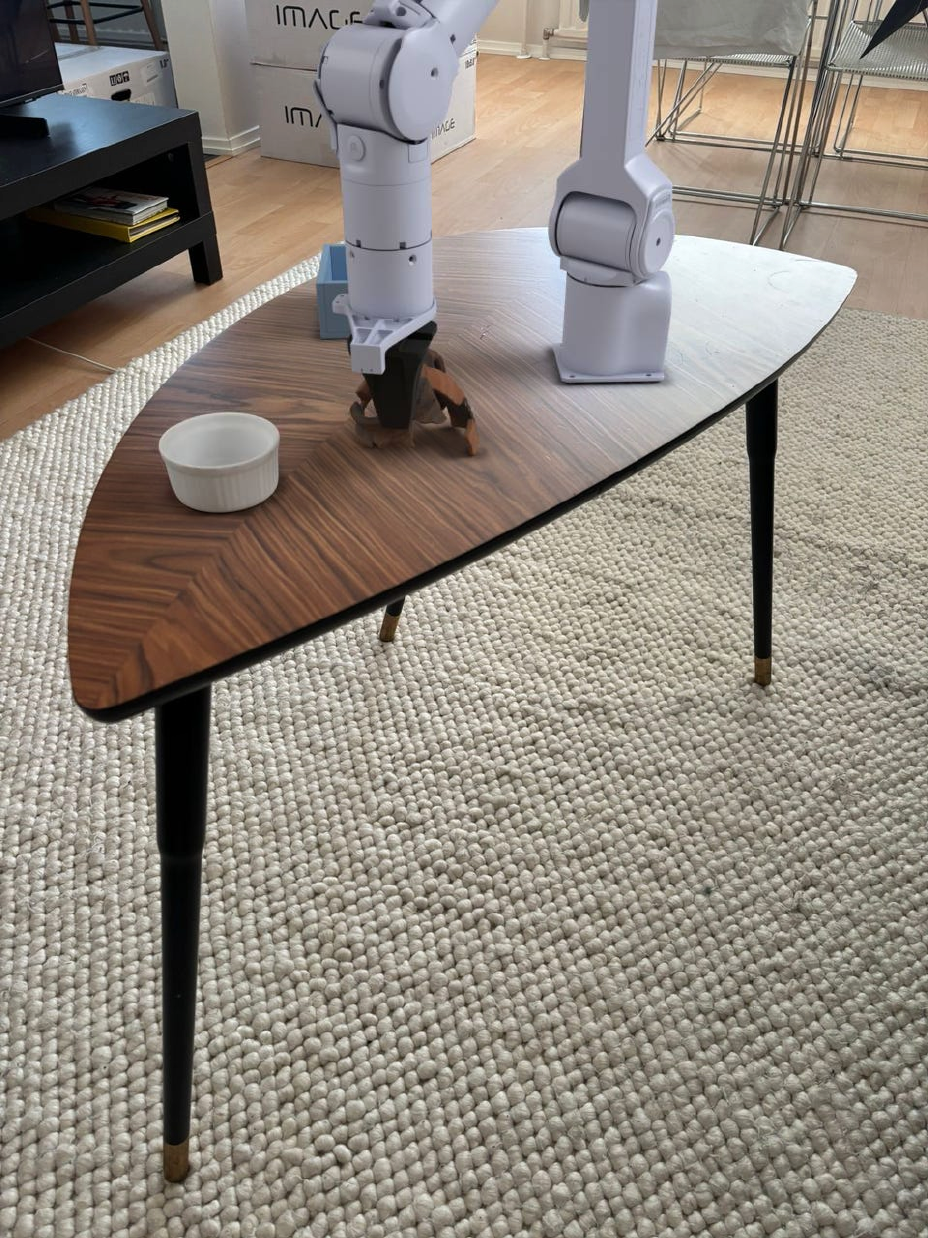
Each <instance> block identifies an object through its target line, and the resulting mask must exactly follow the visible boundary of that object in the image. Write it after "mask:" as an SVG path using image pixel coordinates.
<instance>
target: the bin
mask: <svg viewBox="0 0 928 1238" xmlns="http://www.w3.org/2000/svg"><path fill="white" fill-rule="evenodd" d="M315 289H316V290H315V291H316V300H317V301H316V302H317V311H318V323H319V335H320V336H319V337H320V339H322V340H323V339H324V340H325V339H328V340H329V339H332V340H333V339H348V337H349V336H350V334H351V329H350V324H349V320H348V316H347V315H345V314H337V313H334V312H333V306H332V302H333V301H334V299H335V298H336V297H337V296H338V295H339V294H349V292H348V277H347V263H346V247H345V243H324V244H323V245H322V250H321V255H320V259H319V266H318V271H317V276H316V281H315Z"/></svg>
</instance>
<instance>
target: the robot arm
mask: <svg viewBox="0 0 928 1238" xmlns="http://www.w3.org/2000/svg"><path fill="white" fill-rule="evenodd" d="M658 1H659V0H588V19H587V20H588V21H587V39H586V41H587V42H586V59H585V62H586V63H585V83H584V100H583V101H584V102H583V122H582V123H583V124H582V125H583V126H582V147H581V157H580V158H579V159H577V160H576V161H575V162H572V163H571V164H570V165H569V166H567V167H566V168H565V169H564V170H563V171H562V172H561V173H560V174H559V175H558V176H557V179H556V188H555V189H556V190H555V196H554V201H553V205H552V208H551V211H550V214H549V217H548V226H547V235H548V240H549V246H550V248H551V250H552V252H553V254H554V255H555V256H556V257H558V258H559V269H560V270H562V271H565V272H566V275H565V291H564V292H565V293H564V307H563V323H562V337H561V339H562V340H561V342H558V343H557V342H556V343H554V344H552V351H553V354H554V358H555V359H554V360H555V362H556V366H557V369H558V374H559V377H560V380H561V382H563V383H564V384H565V383H566V384H569V383H570V384H572V383H573V384H576V383H581V384H582V383H628V382H629V383H633V382H634V383H635V382H636V383H637V382H663V381H664V380H665V373H664V369H665V362H666V354H667V348H668V347H667V345H668V341H669V340H668V338H669V332H670V324H671V316H672V302H673V301H672V299H673V297H672V296H673V295H672V293H673V292H672V283H671V277H670V275H669V273H668V272H667V271H665V270H661V269H662V268H663V267H664V266H665V264H666V262H667V260H668V259H669V256H670V254H671V251H672V248H673V246H674V241H675V235H676V221H675V216H674V211H673V189H674V188H673V187H674V184H673V182H672V181H671V180H670V179H669V177H668V176H667V175H666V174H665V173H664V172H663V171H662V170H661V169H660V167H658V165H656V163H654V162H653V161H652V160H651V158H650V157H649V156H648V155H647V153H646V144H647V143H646V142H647V132H648V129H647V128H648V120H649V119H648V118H649V108H650V107H649V106H650V97H651V96H650V95H651V85H652V72H653V63H654V61H653V60H654V51H655V50H654V49H655V38H656V37H655V35H656V27H657V16H658V15H657V13H658ZM499 2H500V0H374V2H373V3H372V5H371V9H369V11H368V12H367V14H366V15H365V17H364V18H363V20H362V23H357V22H351V23H350V24H345V25H343V26H342V27H340V28H339V29H338V30H337V31H336V32H335V33H334V34H333V35H332V36H331V37H330V38H329V39H328V40H327V41H326V43H325V44H324V46H323V47H322V49H321V52H320V54H319V58H318V63H317V68H316V69H317V70H316V78H315V79H313V80H312V81H311V88H312V89H311V90H312V94H313V99H314V102H315V105H316V107H317V110H318V111H319V113H320V115H321V116H322V118H323V119H324V120H325V122H326V124H327V126H328V130H329V136H330V147H331V148H330V149H331V150H332V151H334V155H335V157H337V158H338V159H339V161H338V162H339V173H340V174H339V175H340V185H341V187H340V188H341V201H342V202H341V204H342V215H343V217H342V218H343V231H344V244H345V247H346V263H347V277H348V292H349V294H339V295H338V296H337V297H336V298H335V299H334V301H333V302H332V306H333V312H334V313H337V314H345V315H347V316H348V320H349V324H350V329H351V334H350V336H349V337H348V338H346V349H347V353H348V356H350V362H351V363H350V364H351V372H352V373H358V374H361V375H362V376H363V378H364V380H365V381H366V383H367V385H368V388H369V391H370V394H371V397H372V399H371V401H372V404H373V407H374V410H375V414H376V416H377V417H378V420H379V422H380V425H381V427H382V428H392V429H403V430H407V429H408V428H409V426H410V424H411V421H412V422H413V420H412V418H413V415H414V411H415V406H416V400H417V394H418V388H419V382H420V376H421V372H422V367H423V364H424V360H425V357H426V354H427V351H428V349H430V346H431V343H432V341H433V340H434V338H435V336H436V333H437V331H438V324H437V323H436V322H435V321H434V320H433V319H435V317H436V315H437V300H436V298H435V296H434V271H433V270H434V267H433V265H434V264H433V262H434V261H433V219H432V217H433V214H432V213H433V211H432V209H433V208H432V149H431V148H432V143H431V135H432V134H433V133H434V132H435V131H436V130H437V129H438V127H439V126H441V125H442V124H443V123H444V121H445V118H446V117H447V113H448V111H449V107H450V103H451V99H452V90H453V86H454V82H455V80H456V78H457V76H458V75H459V68H460V66H461V63H460V61H459V60H460V58H461V57H462V56H463V54H464V53H465V52H466V50H467V49H468V47H469V46H470V44H471V43H472V42H473V40H474V39H475V37H476V36H477V34H478V33H479V32H480V30H481V28H482V27H483V25H484V24H485V23H486V21H487V20H488V19H489V17H490V16H491V14H492V12H493V11H494V9H496V7H497V5H498V4H499Z"/></svg>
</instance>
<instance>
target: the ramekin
mask: <svg viewBox="0 0 928 1238" xmlns="http://www.w3.org/2000/svg"><path fill="white" fill-rule="evenodd" d="M280 437H281V436H280V432H279V429H278V428H277V426H276V425H275V424H273V423H272V422H271V421H269V420H268V419H266V418H264V417H261V416H259V415H255V414H251V413H246V412H235V411H232V412H231V411H228V412H227V411H225V412H223V411H222V412H212V413H206V414H200V415H196V416H192V417H190V418H186V419H184V420H182V421H180V422H178V423H176V424H174V425H172V426H171V427H169V428H168V429H167V430H166V431H165V432H164V433H163V434H162V435H161V437H160V439H159V441H158V451H159V453H160V457H161V458H162V460H163V462H164V463H165V464H164V465H165V467H166V471H167V473H168V477H169V480H170V485H171V487H172V490H173V493H174V495H175V497H176V498H177V499H178V501H180V503H182V504H183V505H185V506H187V507H188V508H191V509H193V510H197V511H201V512H207V513H230V512H237V511H242V510H246V509H249V508H252V507H254V506H257V505H258V504H261V503H263V502H264V501H266V500H267V499H268V498H269V497H270V496H272V495H273V494H274V492H275V490H276V489H277V486H278V484H279V474H280V473H279V472H280V471H279V446H280Z"/></svg>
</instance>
